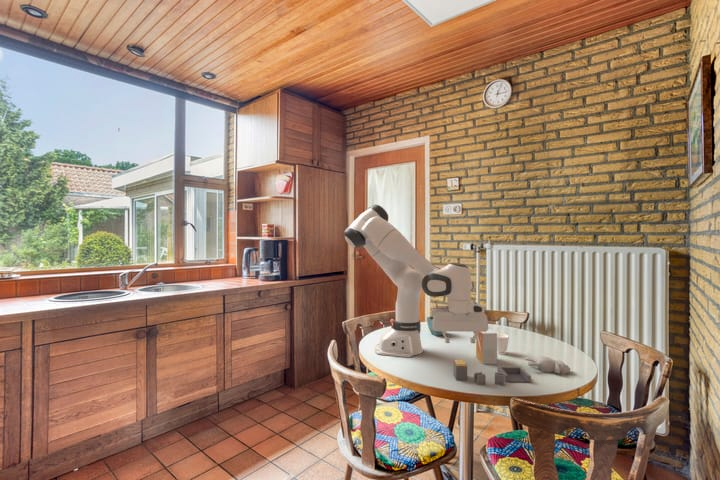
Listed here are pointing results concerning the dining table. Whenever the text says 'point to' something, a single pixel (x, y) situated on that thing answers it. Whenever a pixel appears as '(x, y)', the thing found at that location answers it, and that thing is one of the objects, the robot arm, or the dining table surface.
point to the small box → (487, 347)
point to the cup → (502, 343)
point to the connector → (460, 370)
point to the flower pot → (430, 321)
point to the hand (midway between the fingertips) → (460, 342)
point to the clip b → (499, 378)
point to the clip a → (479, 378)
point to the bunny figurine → (549, 365)
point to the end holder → (514, 374)
